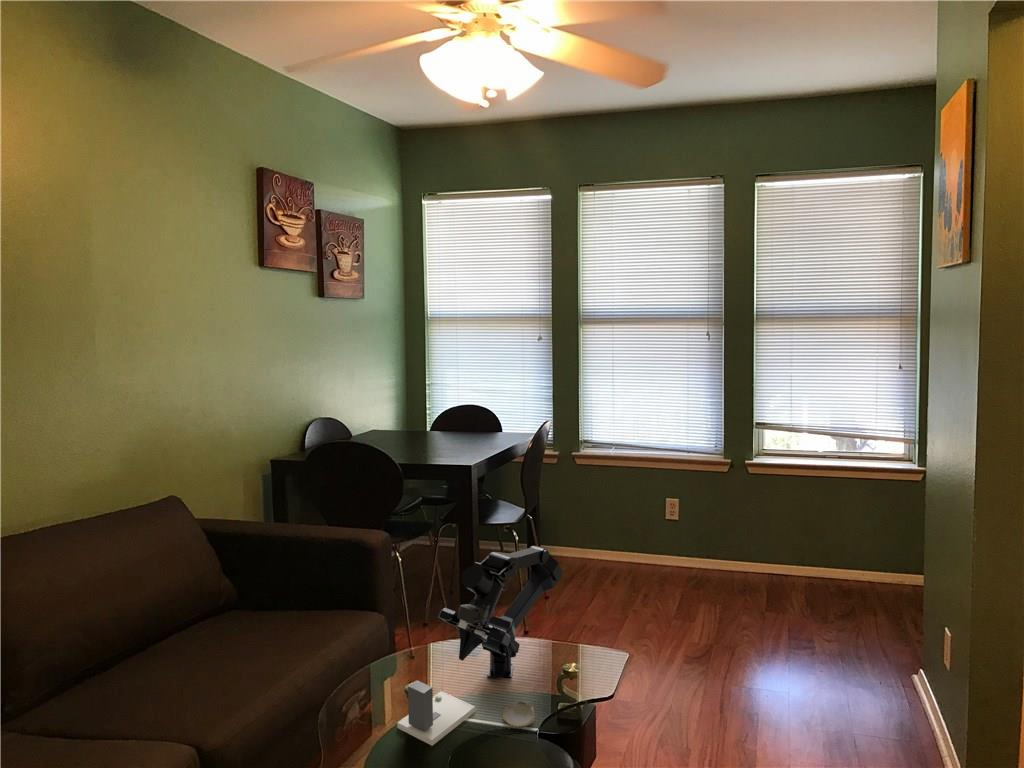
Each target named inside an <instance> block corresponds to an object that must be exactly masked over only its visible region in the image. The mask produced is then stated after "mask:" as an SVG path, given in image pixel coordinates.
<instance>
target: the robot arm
mask: <svg viewBox="0 0 1024 768" xmlns="http://www.w3.org/2000/svg"><path fill="white" fill-rule="evenodd" d="M525 568H529V579H528V581H527V583H526V584H525V586H523V588H522V590H521V591H520V592H519V593H518V594H517V596H516V597H515V599H514V600H513V601H512V602H511V604H510V605H509V606H508V607H507V609H506V610H505V611H504V613H503V614H502V616H500V617H499V616H497V615H495V612H496V609H495V607H496V605H497V604H498V601H499V599H500V596H501V593H502V591H504V592H506V591H507V586H506V583H505V582H506V581H505V580H509V579H511V578H513V577H515V576H516V575H517V571H519V570H522V569H525ZM563 573H564V572H563V570H562V567H561V565H560V563H559V562H558V561H557V560H556V559H555V558H554V557H553V556H552V555H551V554H550V552H549V550H547V548H545V547H544V548H543V547H540V546H538V545H531V546H530V547H528V548H525V549H522V550H521V549H520V550H516V551H513V552H511V553H506V552H501V551H500V552H499V551H492V552H490V553H489V554H488V555H487V556H486V557H485V558H484V559H483V560H482V561H481V562H476V561H475V562H474V563H473V566H469V567H468V568H467V569H465V570H464V571H463V572H462V574H461V583H462V585H463V587H465V588H466V589H467V590H469V591H471V592H473V593H474V594H475V596H474V598H471V599H470V602H469V603H466V604H460V606H459V609H458V612H457V611H455V610H452V609H449V608H447V607H444V608H442V609H441V610H440V612H439V614H438V615H437V617H438V618H439V619H440V620H442V621H444V622H445V623H448V624H450V625H452V626H454V627H455V628H456V629H457V630H458V632H459V639H460V640H459V654H458V660H459V661H464V660H465V659H466V658H467V657H468V656H469V655H470V654H472V652H473V651H474V650H475V649H476V648H478V647H479V646H480V645H481V647H482V650H484V651H487V652H489V665H488V670H487V674H486V677H487V678H495V679H496V678H497V679H507V680H508V679H512V677H513V672H514V665H515V664H513V663H512V658H516V657H517V654H518V653H519V651H520V643H519V642H518V641H517V640H516V633H517V632H516V630H517V628H518V627H519V626H520V624H521V622H522V621H523V620H524V619H525V617H526V616H527V615H528V613H529V612H530V610H531V609H532V608H533V606H534V605H535V603H536V602H537V601H538V600H539V598H540V597H541V595H542V594H543V593H544V592H548V591H549V590H552V589H553V588H555V587H556V585H557V584H559V582H560V581H561V580H562V577H563ZM492 615H493V616H492ZM472 630H473V631H474V632H473V631H472Z"/></svg>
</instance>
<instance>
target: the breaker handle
mask: <svg viewBox="0 0 1024 768" xmlns="http://www.w3.org/2000/svg"><path fill="white" fill-rule="evenodd" d="M433 691H434V690H433V687H432V686H430V685H428V684H426V683H424V682H422V681H419V680H418V679H416V680H414V681H413V682H412V683H410V684H409V685H408V686H407V698H408V699H407V700H408V701H407V703H408V704H407V705H408V706H407V707H408V709H407V710H408V713H407V714H408V715H409V724H410V725H412V726H414V727H416V728H418V729H420V730H422V731H424V732H425V731H426V730H427V729H429V728H430V727H431V726H433V697H434V696H433Z"/></svg>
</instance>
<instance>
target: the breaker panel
mask: <svg viewBox="0 0 1024 768" xmlns="http://www.w3.org/2000/svg"><path fill="white" fill-rule="evenodd" d="M475 713H476V706H475V705H473V704H471V703H468V702H466V701H464V700H461V698H457V697H456V696H453V695H450V694H449V693H446V692H444V691H439V692H437V694H435V695H434V696H433V726H431V727H430V728H429V729H427V730H426V731H425V732H424V731H422V730H420V729H418V728H416V727H414V726H412V725H410V724H409V714H407V715H406V716H404V717H403V718H401V719H399V721H398V722H397V729H399V730H400V731H403V732H404V733H407V734H408V735H411V736H412V737H413V738H414V737H415V738H416V739H418V740H420V741H422V742H424V743H426V744H428V745H430V746H431V747H432V746H434V745H435V744H436V743H438V742H439V741H441V740H442V739H443V738H445V737H446V736H447V735H448V734H449V733H450V732H452V731H453V730H454V729H455V728H457V727H458V726H459V725H461V724H462V723H463V722H465V721H466V720H467V719H468V718H469V717H471V716H472V715H473V714H475Z"/></svg>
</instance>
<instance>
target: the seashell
mask: <svg viewBox="0 0 1024 768" xmlns="http://www.w3.org/2000/svg"><path fill="white" fill-rule="evenodd" d="M502 718H503V721H504V723H507V724H508V725H509V726H512V727H515V728H523V727H528V726H529V725H531V724H532V723H534V721H535V718H536V716H535V706H534V705H533V704H531V703H527V702H524V701H522V700H519V701H518V702H517V703H514V704H511V705H508V706H506V707H505V708H504V709H503V710H502Z"/></svg>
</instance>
